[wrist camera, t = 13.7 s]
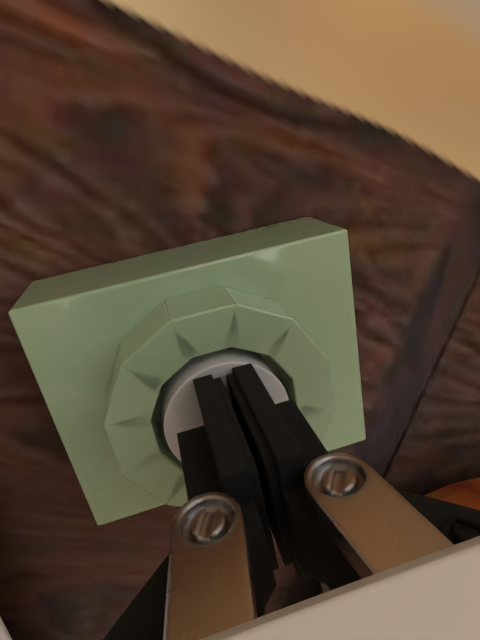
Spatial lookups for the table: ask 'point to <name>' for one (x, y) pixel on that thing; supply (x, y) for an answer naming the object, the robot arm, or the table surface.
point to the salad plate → (4, 631)
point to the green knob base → (189, 348)
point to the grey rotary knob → (180, 390)
